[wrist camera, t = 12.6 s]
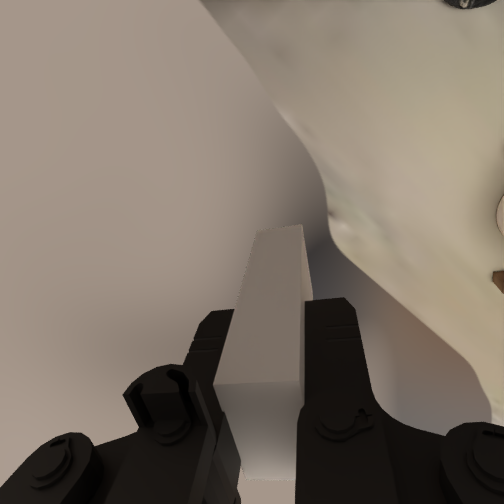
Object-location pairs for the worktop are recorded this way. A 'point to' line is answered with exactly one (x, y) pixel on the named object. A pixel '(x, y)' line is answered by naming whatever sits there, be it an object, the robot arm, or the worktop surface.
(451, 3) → the milk frother
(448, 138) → the worktop surface
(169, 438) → the robot arm
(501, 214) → the candle holder
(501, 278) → the walnut bay
